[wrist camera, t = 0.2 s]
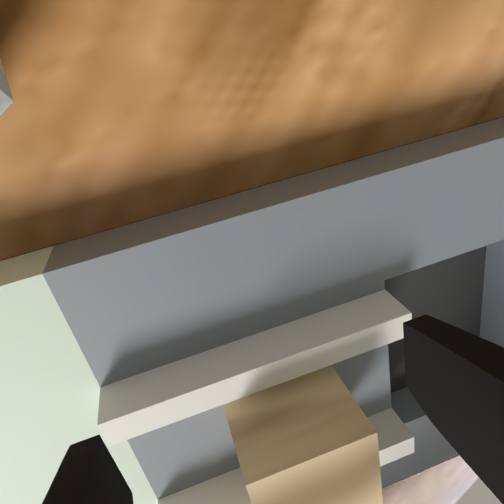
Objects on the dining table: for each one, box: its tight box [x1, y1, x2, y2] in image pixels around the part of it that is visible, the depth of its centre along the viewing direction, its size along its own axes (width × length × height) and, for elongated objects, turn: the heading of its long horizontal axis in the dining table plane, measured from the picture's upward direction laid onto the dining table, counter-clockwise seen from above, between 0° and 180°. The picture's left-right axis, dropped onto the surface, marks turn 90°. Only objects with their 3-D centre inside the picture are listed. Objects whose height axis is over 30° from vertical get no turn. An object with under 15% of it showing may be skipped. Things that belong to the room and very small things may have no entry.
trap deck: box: [0, 117, 504, 504], centre depth 20 cm, size 20×31×4 cm, turn 102°
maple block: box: [223, 365, 383, 504], centre depth 18 cm, size 5×5×5 cm
